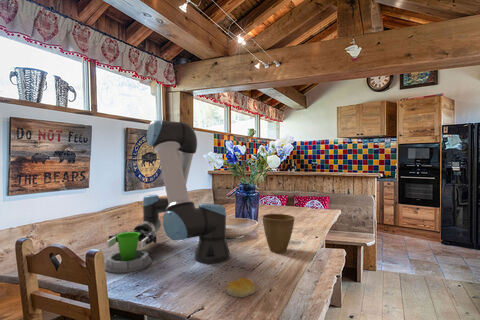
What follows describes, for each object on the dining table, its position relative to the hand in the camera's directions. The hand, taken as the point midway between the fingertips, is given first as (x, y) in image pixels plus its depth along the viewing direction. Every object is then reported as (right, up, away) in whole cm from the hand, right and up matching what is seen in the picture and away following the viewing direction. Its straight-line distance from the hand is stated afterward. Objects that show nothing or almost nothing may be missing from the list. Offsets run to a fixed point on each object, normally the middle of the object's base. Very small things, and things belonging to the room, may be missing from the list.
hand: (124, 244), depth 113 cm
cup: (0, -8, +3) cm, 9 cm away
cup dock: (0, -9, +3) cm, 10 cm away
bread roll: (+46, -9, -21) cm, 51 cm away
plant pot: (+63, -9, +21) cm, 67 cm away
